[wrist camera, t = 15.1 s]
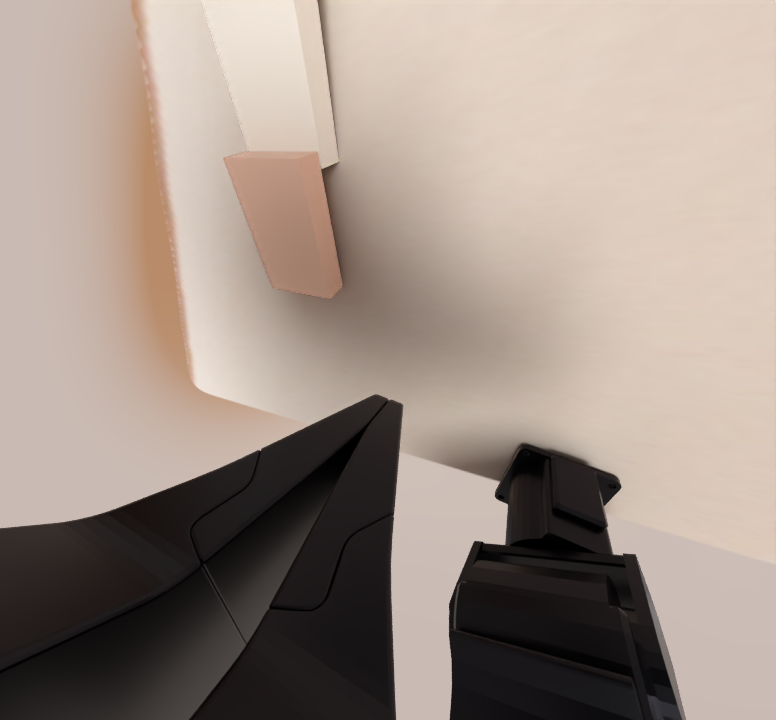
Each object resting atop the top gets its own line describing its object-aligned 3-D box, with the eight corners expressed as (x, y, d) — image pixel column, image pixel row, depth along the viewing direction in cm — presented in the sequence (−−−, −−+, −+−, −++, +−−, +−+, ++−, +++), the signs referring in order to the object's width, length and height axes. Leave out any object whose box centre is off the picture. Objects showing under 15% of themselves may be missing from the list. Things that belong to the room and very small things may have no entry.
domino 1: (322, 169, 16) (277, -98, 10) (252, 164, 17) (179, -69, 12) (338, 161, 17) (306, -81, 11) (271, 158, 19) (213, -57, 13)
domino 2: (330, 299, 20) (297, 158, 14) (272, 288, 21) (222, 157, 16) (343, 286, 21) (317, 151, 15) (287, 276, 22) (246, 151, 17)
